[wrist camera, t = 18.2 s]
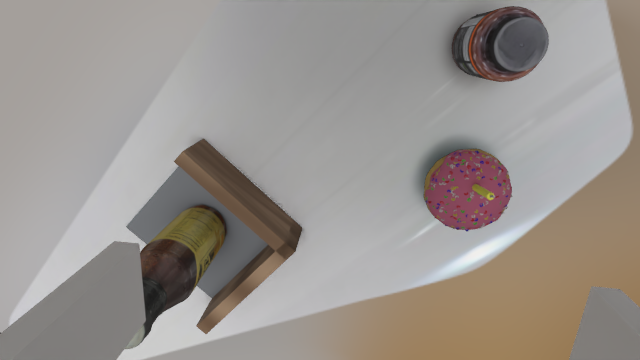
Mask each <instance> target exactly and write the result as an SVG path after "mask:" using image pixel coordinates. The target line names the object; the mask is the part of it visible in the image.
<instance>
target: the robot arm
mask: <svg viewBox="0 0 640 360" xmlns="http://www.w3.org/2000/svg"><path fill="white" fill-rule="evenodd" d="M145 321H146V316H145V305H144V293H143V282H142V271H141V259H140V248H139V244H138V243H127V242H116V241H114V242H113V243H112V244H111V245H109V246H108V247H107V248H106V249H104V250H103V251H102V252H101V253H100V254H98V255H97V256H96V257H95V258H93V259H92V260H91V261H90V262H88V263H87V264H86V265H85V266H83V267H82V268H81V269H80V270H79V271H77V272H76V273H75V274H74V275H72V276H71V277H70V278H69V279H67V280H66V281H65V282H64V283H62V284H61V285H60V286H59V287H58V288H56V289H55V290H54V291H53V292H51V293H50V294H49V295H48V296H46V297H45V298H44V299H43V300H42V301H40V302H39V303H38V304H37V305H35V306H34V307H33V308H32V309H30V310H29V311H28V312H27V313H25V314H24V315H23V316H22V317H21V318H19V319H18V320H17V321H16V322H14V323H13V324H12V325H11V326H9V327H8V328H7V329H6V330H5V331H3V332H2V333H0V360H116V359H117V358H118V357H119V355H120V354H121V353H122V351H123V350H124V349H125V347H126V346H127V345H128V344H129V342H130V341H131V340H132V338H133V337H134V336H135V334H136V333H137V332H138V330H139V329H140V328H141V327H142V325H143V324H144V323H145ZM569 360H640V307H639V306H637V305H636V304H635V303H634V302H633V301H632V300H631V299H630V298H629V297H628V296H627V295H626V294H625V293H623V292H622V291H621V290H620V289H612V288H602V287H591V290H590V293H589V297H588V300H587V303H586V306H585V310H584V313H583V316H582V319H581V323H580V326H579V329H578V332H577V336H576V339H575V342H574V345H573V349H572V352H571V355H570V359H569Z"/></svg>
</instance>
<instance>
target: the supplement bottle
mask: <svg viewBox="0 0 640 360" xmlns="http://www.w3.org/2000/svg"><path fill="white" fill-rule="evenodd" d="M548 42H549V39H548V33H547V30H546V28H545V27H544V25H543V23H542V21H541V19H540V18H539V17H538V16H537V15H536V14H535V13H533V12H532V11H531V10H528V9H526V8H522V7H514V6H513V7H505V8H501V9H497V10H494V11H490V12H487V13H483V14H479V15H477V16H474V17H472V18H470V19H469V20H467V21H466V22H465V23H464V24H462V25H461V27H460V28H459V29H458V30H457V32H456V34H455V36H454V39H453V43H452V54H453V58H454V60H455V62H456V64H457V65H458V67H459V68H460V69H461V70H463V71H464V72H466V73H467V74H469V75H472V76H476V77H480V78H484V79H489V80H493V81H499V82H505V81H513V80H517V79H519V78H521V77H523V76H525V75H527V74H528V73H529V72H531V71H532V70H533V69H534V68H535V67H536V66H537V65H538V63H539V62H540V61H541V60H542V58H543V57H544V55H545V53H546V51H547V48H548Z"/></svg>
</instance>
